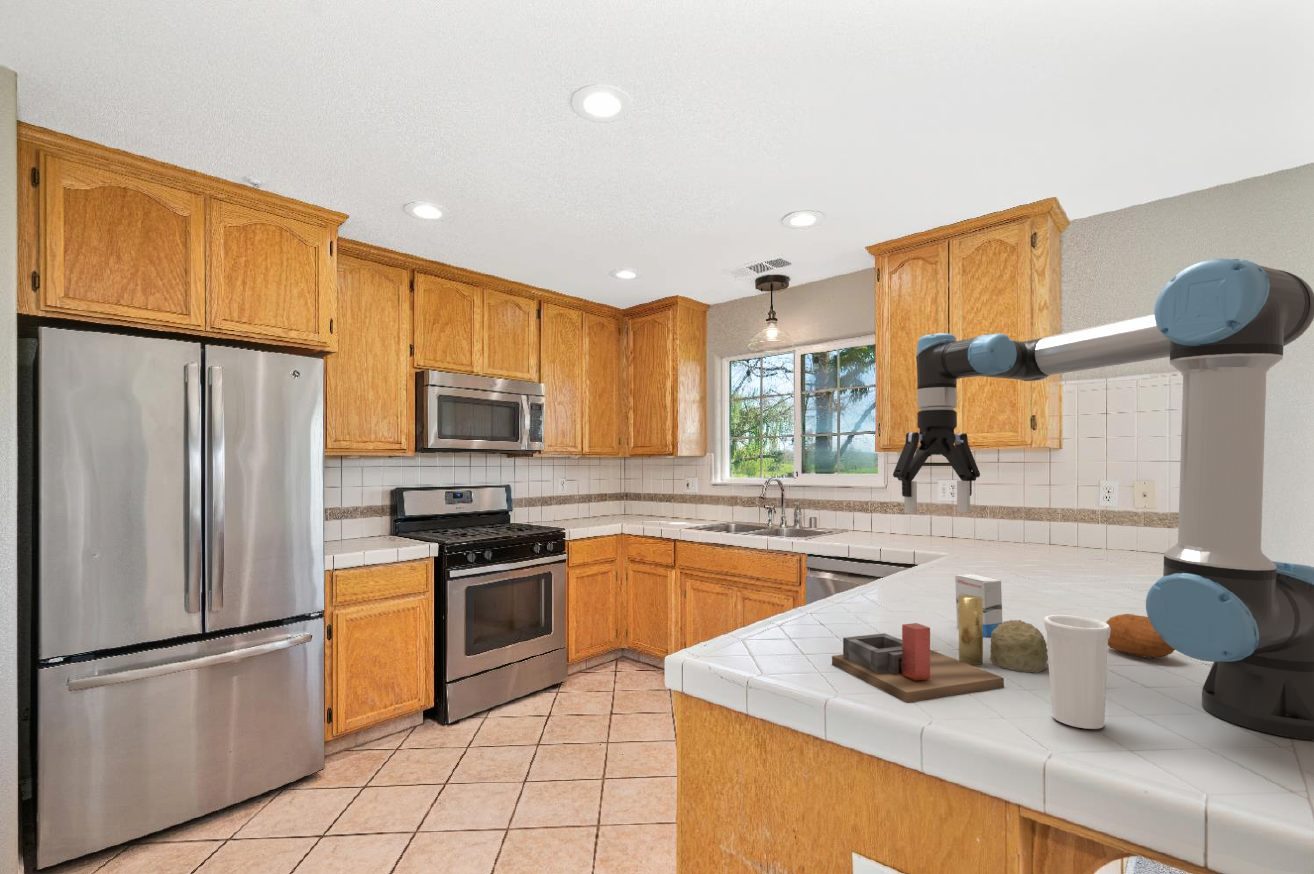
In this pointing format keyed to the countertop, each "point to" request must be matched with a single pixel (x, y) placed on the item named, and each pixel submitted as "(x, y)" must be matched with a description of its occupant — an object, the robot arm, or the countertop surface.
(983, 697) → the countertop surface
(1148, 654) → the potato
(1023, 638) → the decorative object
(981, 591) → the ink box
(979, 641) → the upright brass rod
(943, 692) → the mount
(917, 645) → the pin
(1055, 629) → the cup
